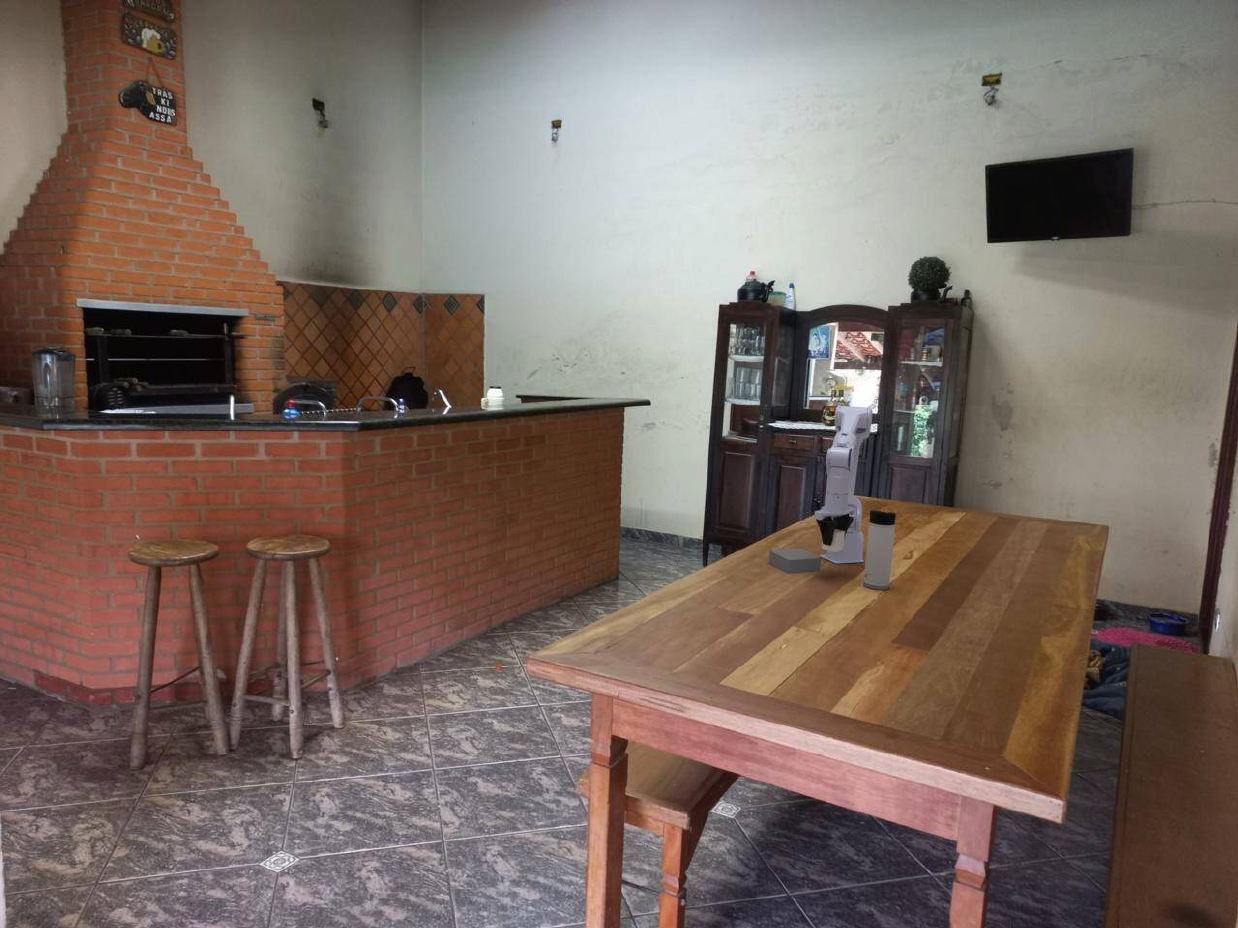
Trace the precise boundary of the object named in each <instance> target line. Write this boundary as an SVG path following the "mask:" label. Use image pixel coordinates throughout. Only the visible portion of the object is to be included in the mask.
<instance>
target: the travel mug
mask: <svg viewBox="0 0 1238 928" xmlns="http://www.w3.org/2000/svg"><path fill="white" fill-rule="evenodd" d="M896 516H897V513H895V512H891V511H888V512H885V511H881V510H874V509H873V510H870V511H869V521H868V530H867V541H866V551H865V560H864V561H865V563H864V572H863V573H864V575H863V586H864V587H865V588H868V589H871V590H875V591H877V590H878V591H885V590H888V589H889V588H890V583H891V582H890V581H891V574H892V573H891V571H892V563H893V562H892V559H893V550H894V541H895V529H896V518H897V517H896Z"/></svg>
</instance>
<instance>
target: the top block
mask: <svg viewBox="0 0 1238 928" xmlns="http://www.w3.org/2000/svg"><path fill="white" fill-rule="evenodd" d="M844 535H845V531H842V530H838V529H835V530H834V534H833V540H832V544H831V546H828V545H824V544H823V540H822V542H821V549H822V550H826V551H827V550H829V551H833V552H837V551H840V550H843V547H844Z"/></svg>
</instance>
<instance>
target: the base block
mask: <svg viewBox="0 0 1238 928" xmlns="http://www.w3.org/2000/svg"><path fill="white" fill-rule="evenodd" d="M768 552H769V553H768V554H769V556H768V564H769V565H771V566H773V567H775V568H777V569H779V570H781V571H783V572H785V573H786V574H798V573H811V572H812V573H813V572H821V565H822V557H821V556H817V555H816V554H814V553H811V552H809V551H808V550H805V549H803V548H800V547H797V548H786V549H785V548H782V549H771V550H769V551H768Z"/></svg>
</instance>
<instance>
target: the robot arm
mask: <svg viewBox="0 0 1238 928" xmlns="http://www.w3.org/2000/svg"><path fill="white" fill-rule="evenodd" d="M872 422H873V408H872V407H871V406H868V407H866V406H852V405H851V406H850V405H849V406H848V405H840V404H838V405H837V406H836V407H835V410H834V427H835V429H834V430H835V432H836V434H835V435H834V438H833V442H832V445H831V447H830V448H829V447H828V448H827V451H826V456H825V457H826V458H825V464H826V472H825V473H826V474H825V475H826V476H827V477H826V484H825V485H826V486H825V498H824V499H825V501H824V506H821V509H819V510H817V511H814V517H813V518H814V520H815V522H816V523H817V525H818V527H819V530H820V534H821V538H822V540H823V544H824V545H828V546H831V544H832V540H833V534H834V530H835V529H838V530H842V531H845V535H844V547H843V550H840V551H837V552H833V551H829V550H826V554H820V556H819V557H820V558H822V559H825V560H827V561H829V562H831V563H833V564H838V565H839V564H850V563H851V564H852V563H855V564H856V563H864V561H865V560H864V559H863V552H864V543H865V541H864V540H865V539H864V533H863V532H862V530H860V529H861V527H862V519H863V518H862V517H863V504H862V502H861V501H860V500H859V499H858V498H857V497H856V496H855V495H854V493H855V485H856V478H857V470H858V461H859V454H860V447H861V444H862V442H863V441H864V440H866V439H868V438H869V437H870V434H871V429H872Z"/></svg>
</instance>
